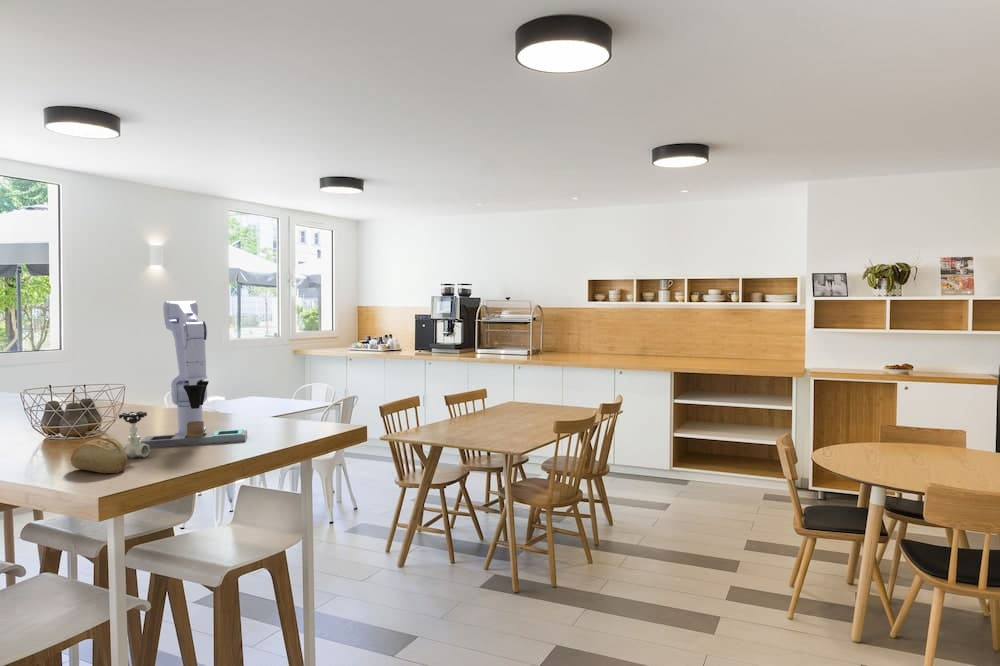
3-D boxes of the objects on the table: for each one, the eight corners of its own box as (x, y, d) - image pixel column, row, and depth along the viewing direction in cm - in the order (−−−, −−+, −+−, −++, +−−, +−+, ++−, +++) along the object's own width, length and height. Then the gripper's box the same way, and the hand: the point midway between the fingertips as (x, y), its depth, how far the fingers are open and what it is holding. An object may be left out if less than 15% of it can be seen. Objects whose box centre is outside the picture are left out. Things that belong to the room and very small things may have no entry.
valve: (136, 461, 181) (134, 415, 180) (115, 460, 182) (113, 415, 181) (154, 455, 187) (152, 411, 187) (133, 454, 188) (131, 411, 188)
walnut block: (189, 441, 205) (189, 421, 205) (204, 440, 206) (203, 420, 206) (187, 444, 201) (186, 424, 201) (202, 443, 202) (201, 423, 202)
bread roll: (94, 464, 178) (93, 434, 177) (139, 468, 173) (138, 436, 172) (60, 473, 169) (58, 441, 168) (106, 478, 164) (104, 444, 163)
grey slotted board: (146, 443, 204) (146, 435, 203) (247, 436, 211) (247, 429, 211) (140, 448, 196) (140, 440, 196) (245, 441, 204) (245, 433, 203)
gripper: (184, 360, 213) (186, 404, 213) (176, 364, 199) (178, 411, 200) (209, 359, 215) (211, 402, 215) (203, 363, 201) (204, 409, 201)
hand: (197, 406), depth 208 cm, fingers open, 7 cm apart
